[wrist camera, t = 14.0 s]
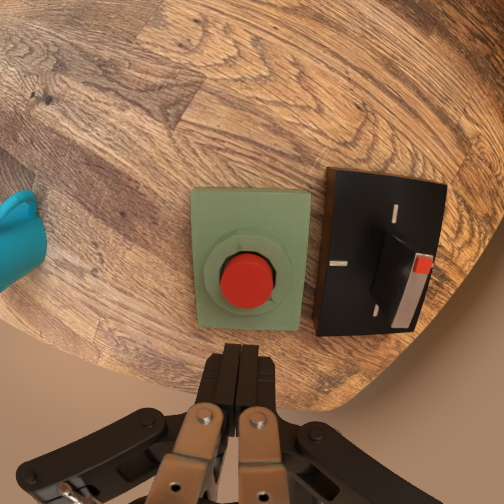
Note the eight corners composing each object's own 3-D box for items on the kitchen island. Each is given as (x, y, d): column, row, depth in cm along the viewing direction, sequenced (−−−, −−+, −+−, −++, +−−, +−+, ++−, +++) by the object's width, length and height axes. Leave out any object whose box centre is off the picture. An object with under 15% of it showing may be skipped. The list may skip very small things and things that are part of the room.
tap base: (402, 315, 26) (414, 332, 23) (311, 318, 26) (316, 337, 23) (429, 180, 21) (448, 185, 18) (326, 166, 21) (336, 169, 18)
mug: (33, 280, 27) (-8, 312, 19) (0, 233, 25) (-44, 256, 17) (71, 212, 24) (15, 238, 16) (31, 160, 22) (-24, 171, 14)
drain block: (296, 317, 26) (300, 343, 23) (202, 314, 27) (193, 339, 23) (307, 190, 22) (316, 198, 18) (196, 187, 22) (182, 195, 19)
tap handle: (384, 295, 22) (409, 330, 17) (369, 294, 22) (392, 330, 17) (402, 232, 20) (436, 257, 15) (386, 230, 20) (418, 254, 15)
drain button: (271, 297, 22) (271, 309, 20) (224, 295, 22) (221, 307, 20) (273, 253, 20) (274, 263, 19) (223, 252, 20) (219, 261, 19)
